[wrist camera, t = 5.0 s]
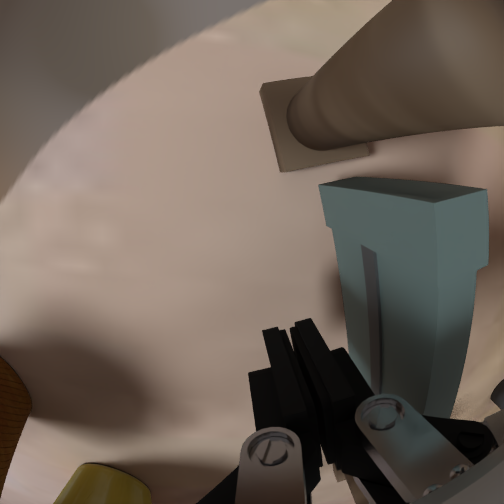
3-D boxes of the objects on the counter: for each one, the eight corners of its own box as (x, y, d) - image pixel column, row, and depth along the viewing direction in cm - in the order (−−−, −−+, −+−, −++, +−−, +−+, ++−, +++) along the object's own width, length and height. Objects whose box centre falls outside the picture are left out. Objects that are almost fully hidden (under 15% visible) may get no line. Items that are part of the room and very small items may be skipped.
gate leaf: (372, 452, 15) (406, 521, 9) (350, 460, 15) (381, 533, 9) (355, 176, 11) (487, 189, 4) (318, 184, 11) (433, 202, 4)
